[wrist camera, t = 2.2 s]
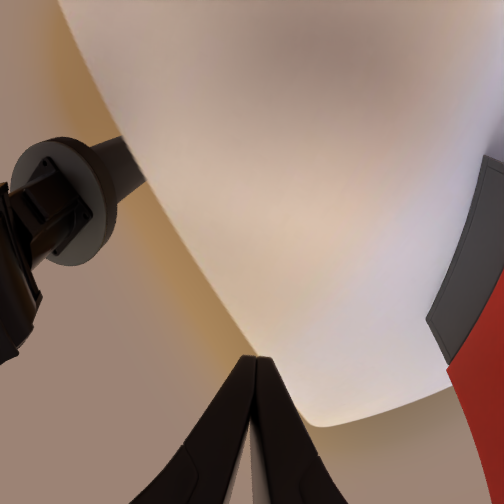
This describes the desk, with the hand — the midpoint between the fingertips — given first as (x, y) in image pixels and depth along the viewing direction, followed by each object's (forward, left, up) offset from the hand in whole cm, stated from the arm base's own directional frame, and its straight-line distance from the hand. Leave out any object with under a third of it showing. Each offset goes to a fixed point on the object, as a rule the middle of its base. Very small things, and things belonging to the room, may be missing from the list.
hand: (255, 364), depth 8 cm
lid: (+12, -11, 0) cm, 16 cm away
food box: (+16, -15, -13) cm, 25 cm away
